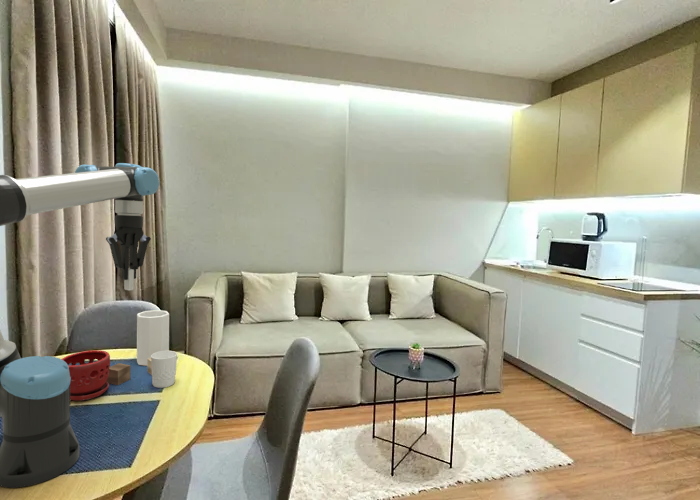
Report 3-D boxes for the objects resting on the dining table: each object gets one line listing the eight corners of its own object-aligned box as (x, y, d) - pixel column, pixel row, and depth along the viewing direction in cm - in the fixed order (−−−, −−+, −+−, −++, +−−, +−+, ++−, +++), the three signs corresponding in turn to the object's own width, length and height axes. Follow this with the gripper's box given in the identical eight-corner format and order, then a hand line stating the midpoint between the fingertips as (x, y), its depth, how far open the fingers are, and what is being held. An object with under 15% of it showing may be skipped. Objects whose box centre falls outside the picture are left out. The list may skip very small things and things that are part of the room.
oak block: (153, 376, 136) (153, 362, 136) (147, 372, 140) (147, 358, 139) (167, 372, 140) (167, 359, 139) (161, 368, 143) (161, 355, 143)
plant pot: (87, 382, 129) (87, 347, 128) (119, 389, 125) (120, 352, 124) (47, 400, 116) (47, 361, 115) (82, 407, 113) (82, 367, 112)
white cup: (145, 385, 129) (145, 356, 128) (164, 377, 136) (164, 349, 135) (163, 390, 126) (163, 360, 125) (181, 381, 133) (182, 353, 132)
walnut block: (117, 385, 128) (117, 370, 128) (105, 382, 129) (105, 368, 129) (130, 379, 133) (130, 365, 132) (118, 377, 134) (118, 363, 134)
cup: (147, 368, 142) (147, 319, 140) (130, 361, 148) (130, 313, 146) (175, 360, 152) (175, 313, 150) (157, 353, 157) (158, 308, 156)
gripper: (142, 214, 129) (142, 285, 131) (100, 213, 118) (100, 290, 120) (156, 215, 125) (155, 288, 127) (113, 214, 114) (113, 294, 116)
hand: (128, 289), depth 123 cm, fingers closed
